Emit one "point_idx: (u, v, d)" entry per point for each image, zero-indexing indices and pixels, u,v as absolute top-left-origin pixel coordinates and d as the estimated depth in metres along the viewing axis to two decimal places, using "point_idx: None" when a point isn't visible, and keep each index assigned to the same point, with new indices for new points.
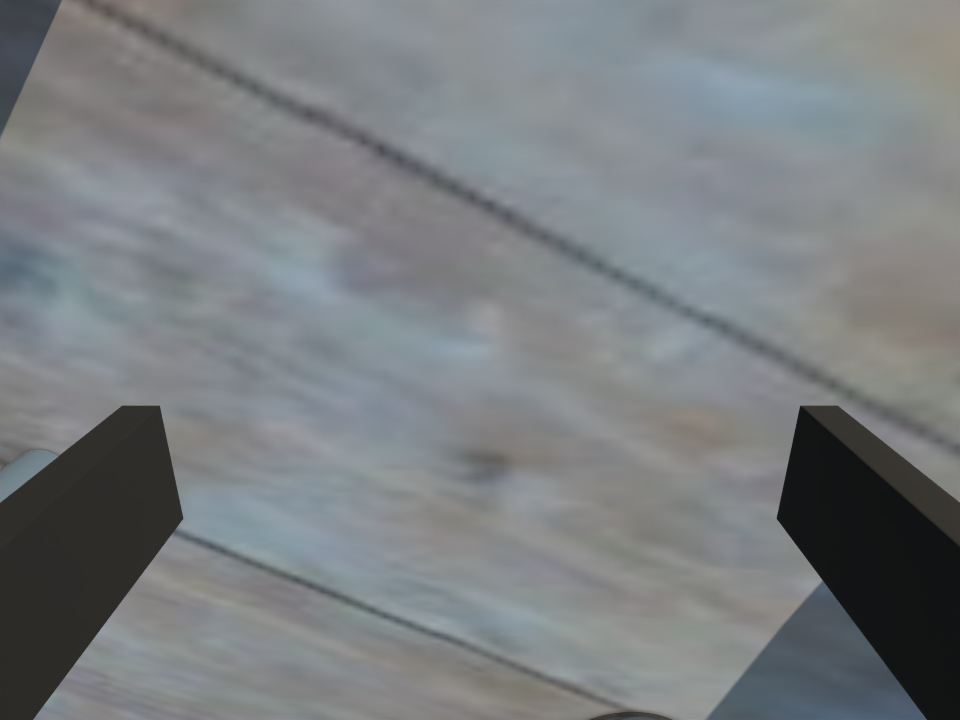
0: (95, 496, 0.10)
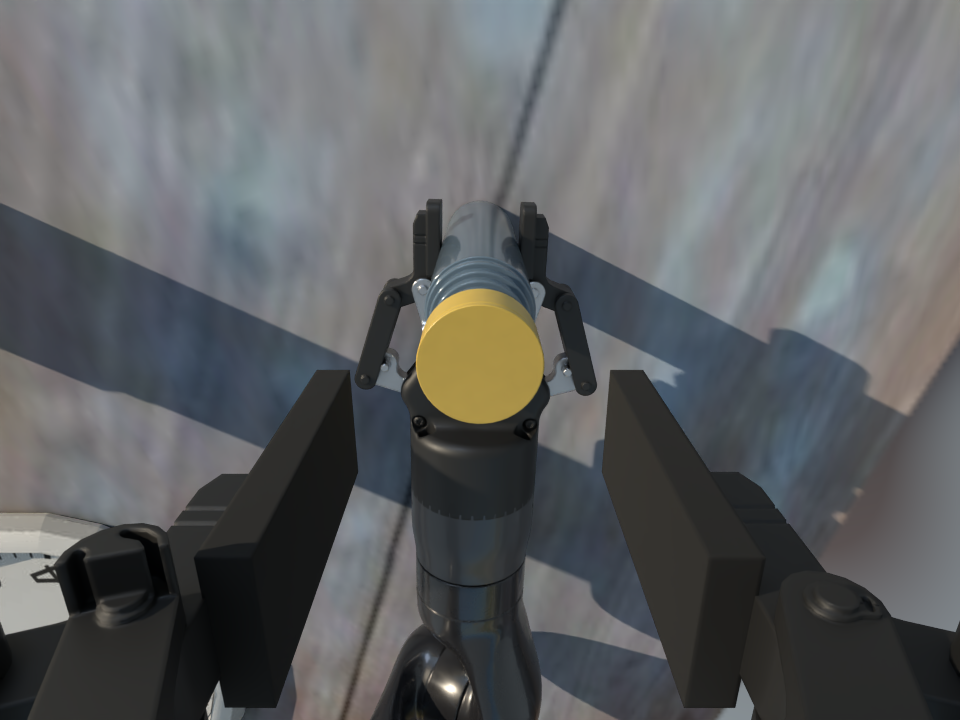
0: (327, 440, 0.12)
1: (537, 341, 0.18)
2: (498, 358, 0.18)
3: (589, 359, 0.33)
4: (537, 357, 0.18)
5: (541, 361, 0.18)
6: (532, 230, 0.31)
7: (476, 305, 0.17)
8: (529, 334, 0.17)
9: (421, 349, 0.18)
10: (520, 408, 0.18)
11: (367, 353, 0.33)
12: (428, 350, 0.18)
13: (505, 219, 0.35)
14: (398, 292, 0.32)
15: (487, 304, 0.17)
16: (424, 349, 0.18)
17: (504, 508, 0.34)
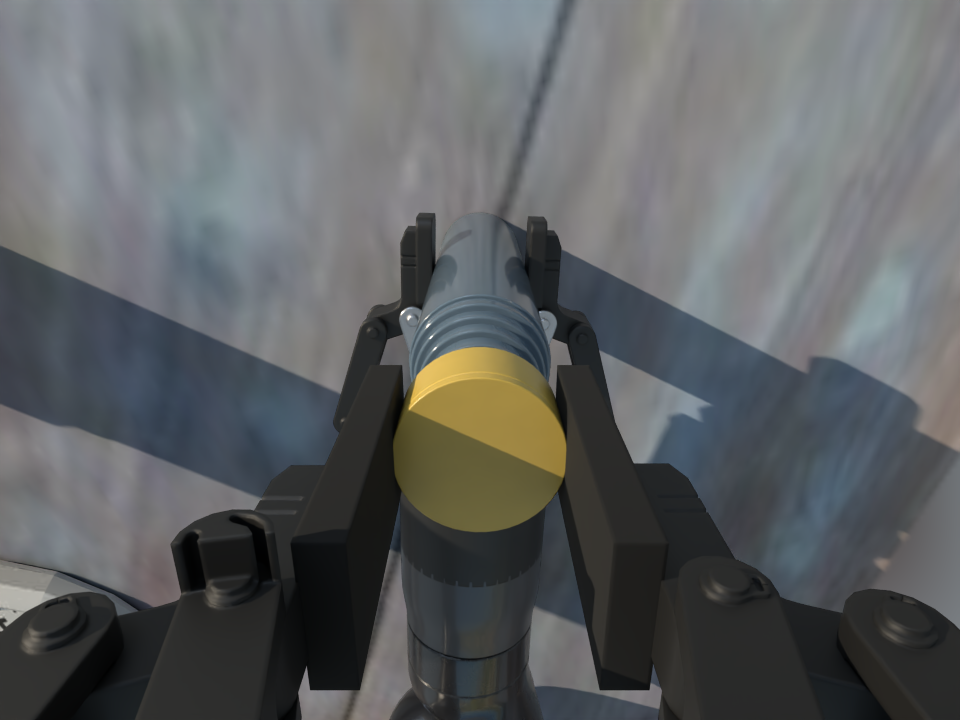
0: (389, 433, 0.12)
1: (558, 426, 0.13)
2: (505, 448, 0.13)
3: (608, 400, 0.28)
4: (558, 447, 0.13)
5: (564, 452, 0.13)
6: (542, 251, 0.26)
7: (474, 378, 0.12)
8: (548, 417, 0.13)
9: (398, 436, 0.13)
10: (534, 512, 0.13)
11: (347, 393, 0.28)
12: (408, 438, 0.13)
13: (509, 235, 0.30)
14: (383, 323, 0.27)
15: (489, 376, 0.12)
16: (403, 436, 0.13)
17: (508, 572, 0.29)
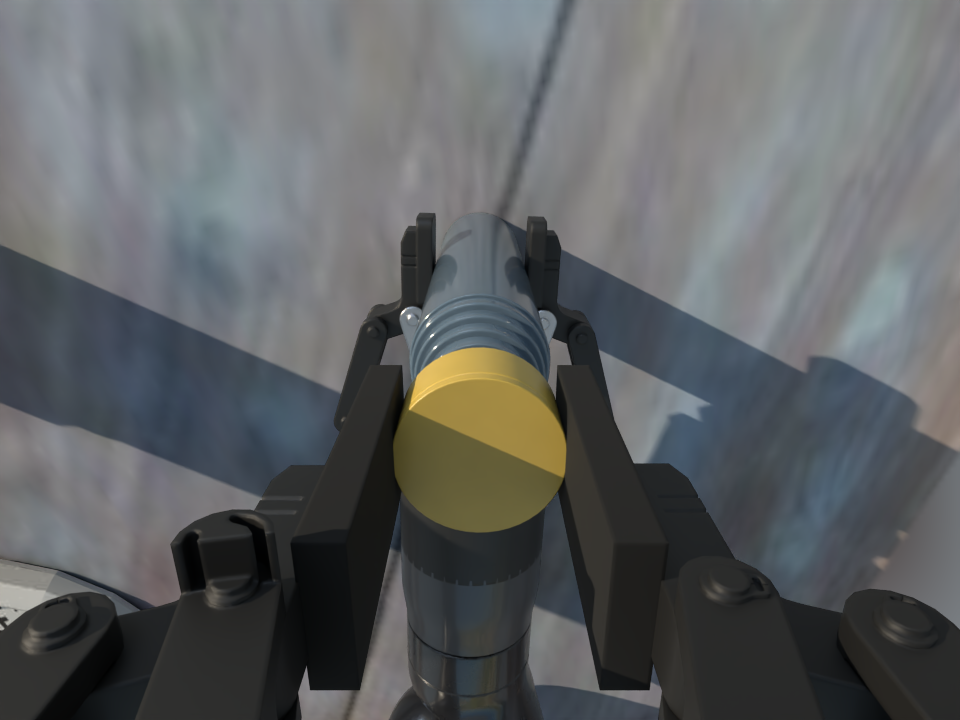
0: (389, 434, 0.12)
1: (406, 417, 0.13)
2: (456, 446, 0.13)
3: (607, 399, 0.29)
4: (426, 404, 0.13)
5: (427, 397, 0.12)
6: (541, 250, 0.26)
7: (409, 501, 0.13)
8: (403, 430, 0.13)
9: (498, 526, 0.14)
10: (506, 385, 0.12)
11: (348, 392, 0.28)
12: (494, 521, 0.14)
13: (509, 235, 0.30)
14: (384, 322, 0.27)
15: None
16: (495, 524, 0.14)
17: (508, 571, 0.30)
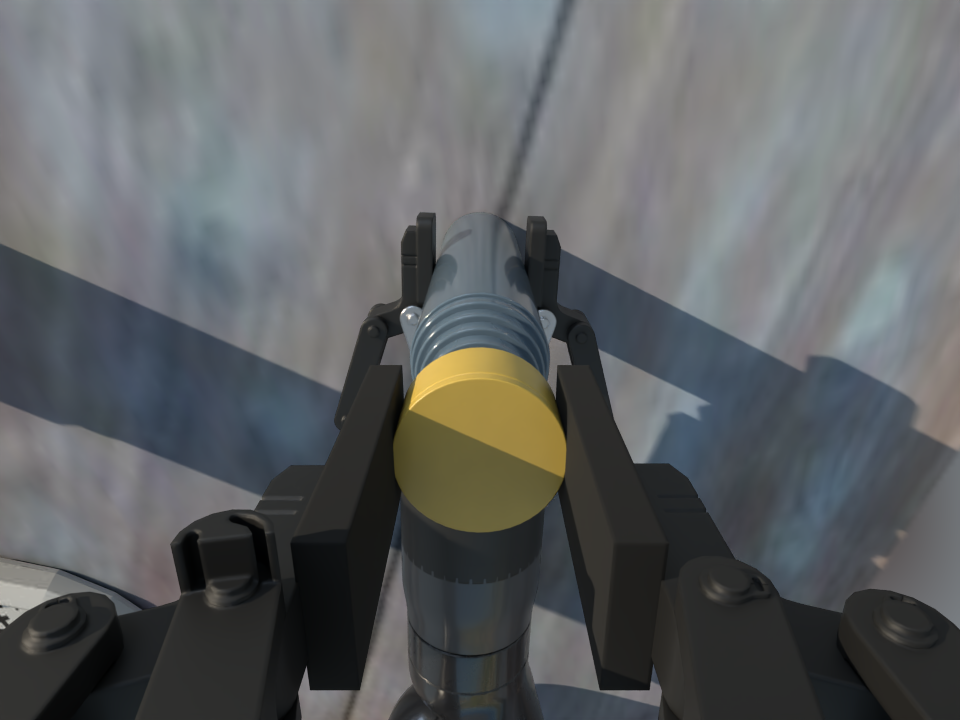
0: (388, 433, 0.12)
1: (475, 530, 0.14)
2: (479, 484, 0.13)
3: (607, 398, 0.29)
4: (455, 522, 0.14)
5: (448, 524, 0.14)
6: (541, 250, 0.26)
7: (557, 490, 0.13)
8: (489, 527, 0.14)
9: (541, 405, 0.13)
10: (398, 477, 0.13)
11: (348, 391, 0.29)
12: (535, 414, 0.13)
13: (509, 235, 0.30)
14: (384, 321, 0.28)
15: None
16: (539, 410, 0.13)
17: (508, 569, 0.30)
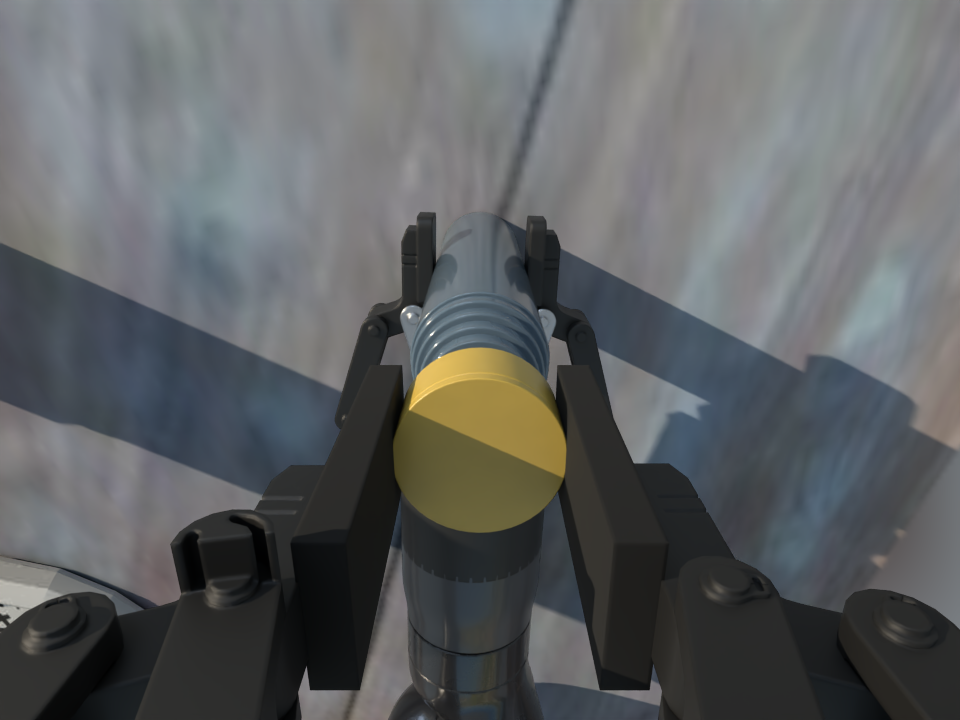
0: (388, 433, 0.12)
1: (557, 423, 0.13)
2: (504, 448, 0.13)
3: (606, 397, 0.29)
4: (558, 444, 0.13)
5: (564, 449, 0.13)
6: (541, 249, 0.26)
7: (470, 379, 0.12)
8: (546, 414, 0.13)
9: (397, 440, 0.13)
10: (537, 511, 0.13)
11: (349, 390, 0.29)
12: (407, 441, 0.13)
13: (509, 234, 0.30)
14: (384, 321, 0.28)
15: (485, 376, 0.12)
16: (402, 440, 0.13)
17: (508, 568, 0.30)
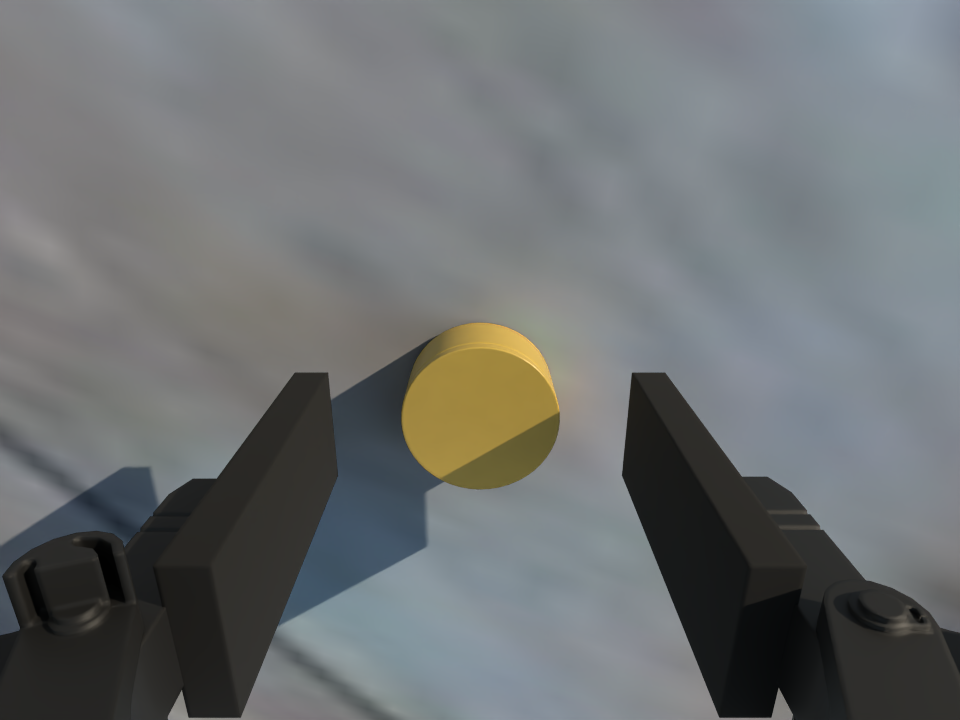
0: (302, 445, 0.12)
1: (549, 389, 0.14)
2: (502, 410, 0.14)
3: None
4: (550, 407, 0.14)
5: (555, 412, 0.14)
6: None
7: (471, 348, 0.14)
8: (539, 380, 0.14)
9: (406, 404, 0.14)
10: (532, 469, 0.15)
11: None
12: (415, 405, 0.14)
13: None
14: None
15: (485, 346, 0.14)
16: (410, 403, 0.14)
17: None
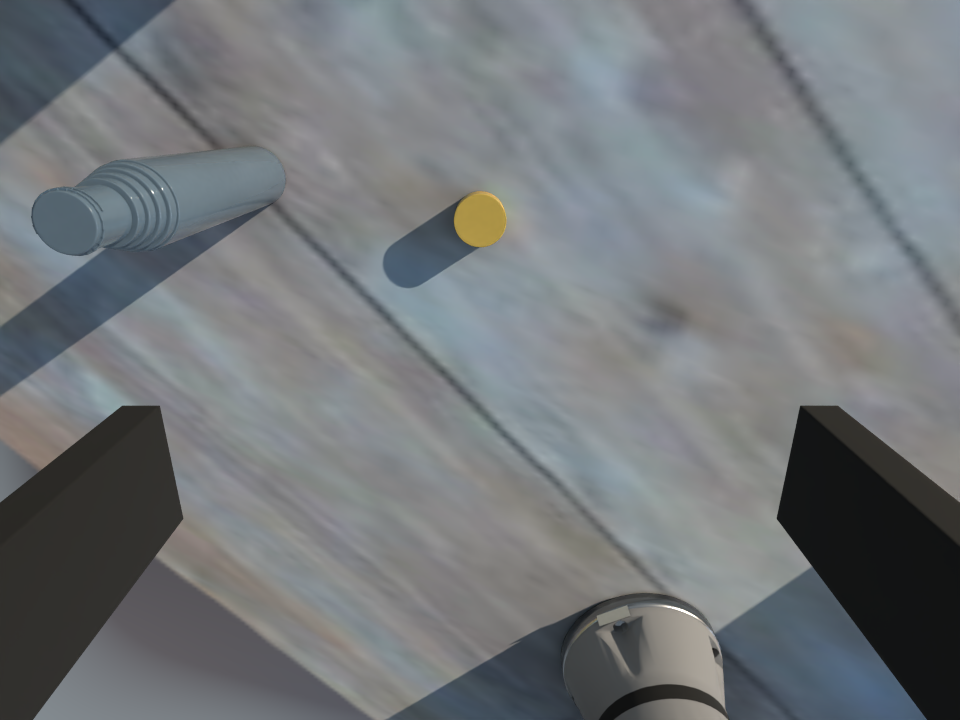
0: (96, 496, 0.10)
1: (502, 208, 0.43)
2: (487, 217, 0.44)
3: None
4: (503, 215, 0.44)
5: (505, 217, 0.44)
6: None
7: (477, 194, 0.43)
8: (499, 205, 0.43)
9: (455, 214, 0.44)
10: (497, 239, 0.44)
11: None
12: (458, 214, 0.44)
13: None
14: None
15: (481, 194, 0.43)
16: (457, 214, 0.44)
17: None
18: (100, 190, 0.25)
